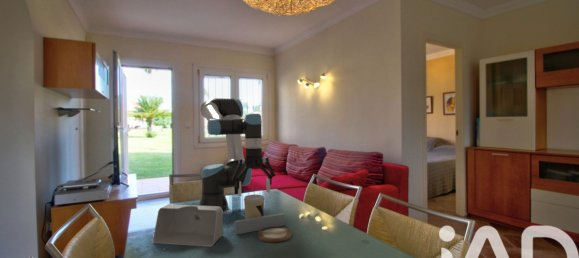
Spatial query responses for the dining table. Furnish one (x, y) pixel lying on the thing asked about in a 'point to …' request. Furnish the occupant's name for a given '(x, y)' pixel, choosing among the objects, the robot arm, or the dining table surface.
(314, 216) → the dining table surface
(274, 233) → the walnut mat
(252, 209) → the coffee cup
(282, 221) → the grey wall
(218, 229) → the white open storage bin
